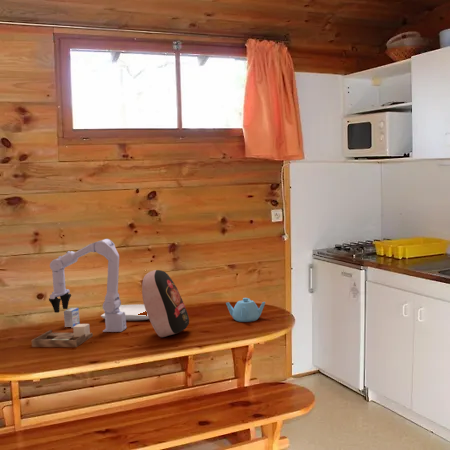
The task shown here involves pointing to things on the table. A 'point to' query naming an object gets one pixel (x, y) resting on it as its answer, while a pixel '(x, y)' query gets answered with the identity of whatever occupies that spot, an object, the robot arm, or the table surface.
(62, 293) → the robot arm
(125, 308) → the square plate
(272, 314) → the table surface
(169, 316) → the packaged food
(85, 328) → the cream block
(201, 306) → the table surface
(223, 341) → the table surface
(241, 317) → the teapot
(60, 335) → the trap tray
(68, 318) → the medicine box
